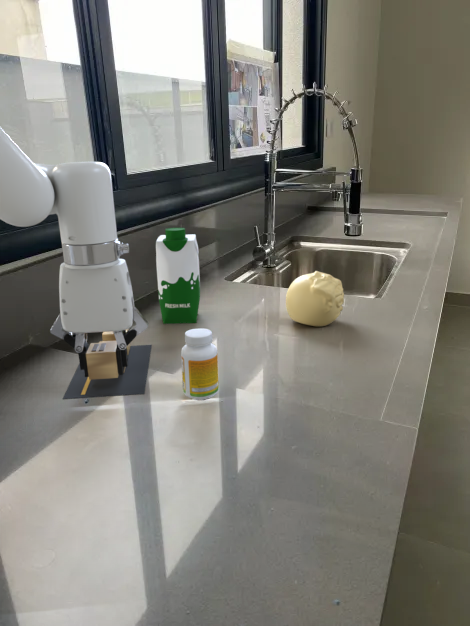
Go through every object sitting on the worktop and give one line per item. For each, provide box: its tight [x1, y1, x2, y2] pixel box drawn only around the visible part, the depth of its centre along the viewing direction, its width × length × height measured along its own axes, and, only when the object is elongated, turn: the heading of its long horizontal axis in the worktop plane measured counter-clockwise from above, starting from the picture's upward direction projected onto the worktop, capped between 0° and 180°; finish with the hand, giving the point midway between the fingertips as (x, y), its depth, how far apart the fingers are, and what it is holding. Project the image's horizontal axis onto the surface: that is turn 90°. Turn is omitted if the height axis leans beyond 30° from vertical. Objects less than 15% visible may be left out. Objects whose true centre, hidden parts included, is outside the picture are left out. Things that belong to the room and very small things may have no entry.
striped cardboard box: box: [86, 342, 119, 380], centre depth 75 cm, size 4×4×4 cm
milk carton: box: [155, 227, 201, 325], centre depth 105 cm, size 9×9×20 cm
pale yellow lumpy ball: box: [285, 270, 345, 327], centre depth 103 cm, size 12×12×11 cm
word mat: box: [62, 344, 153, 400], centre depth 83 cm, size 12×20×1 cm, turn 6°
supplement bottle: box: [180, 327, 220, 401], centre depth 74 cm, size 5×5×10 cm
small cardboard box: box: [101, 328, 131, 354], centre depth 90 cm, size 4×4×4 cm
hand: (105, 370), depth 75 cm, fingers closed on striped cardboard box, 4 cm apart
